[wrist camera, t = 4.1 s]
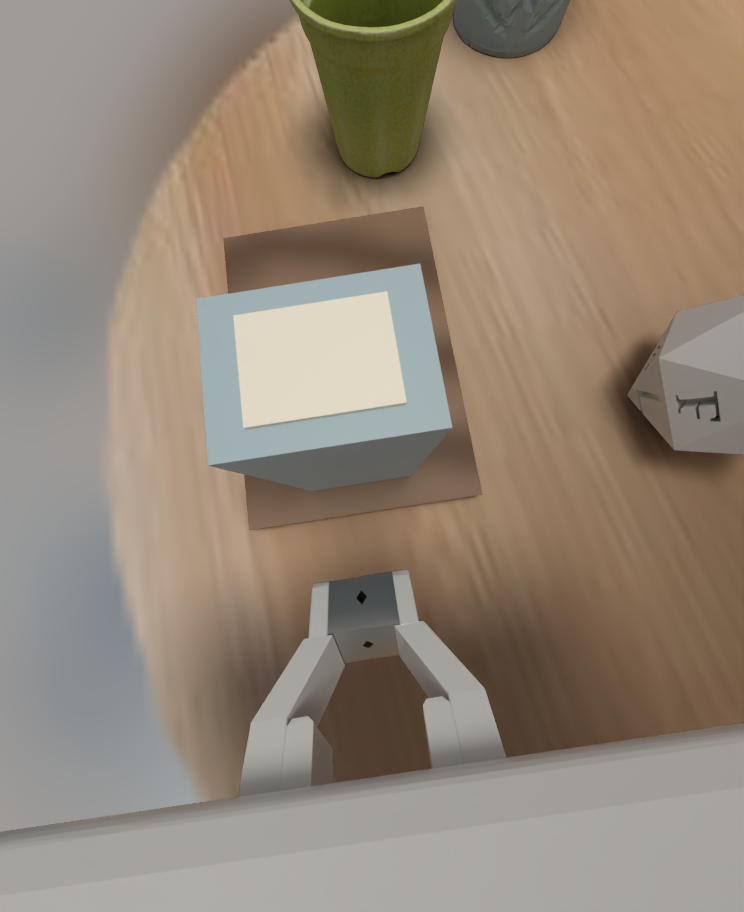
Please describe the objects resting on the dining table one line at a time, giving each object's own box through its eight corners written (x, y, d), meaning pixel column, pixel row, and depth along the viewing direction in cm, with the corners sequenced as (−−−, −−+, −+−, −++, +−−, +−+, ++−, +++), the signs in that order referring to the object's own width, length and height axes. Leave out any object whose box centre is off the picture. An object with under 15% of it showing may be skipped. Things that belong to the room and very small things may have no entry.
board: (477, 495, 20) (482, 494, 19) (255, 529, 21) (249, 530, 20) (421, 219, 24) (423, 206, 23) (230, 249, 24) (223, 238, 23)
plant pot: (404, 219, 24) (417, 55, 15) (293, 169, 25) (246, -10, 16) (461, 122, 25) (503, -80, 16) (353, 79, 26) (339, -134, 17)
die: (605, 331, 23) (649, 335, 14) (789, 270, 18) (997, 228, 10) (627, 441, 24) (677, 501, 16) (801, 408, 20) (986, 467, 12)
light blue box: (410, 476, 20) (453, 426, 8) (312, 491, 20) (204, 464, 8) (398, 405, 21) (420, 259, 9) (303, 419, 21) (193, 295, 9)
